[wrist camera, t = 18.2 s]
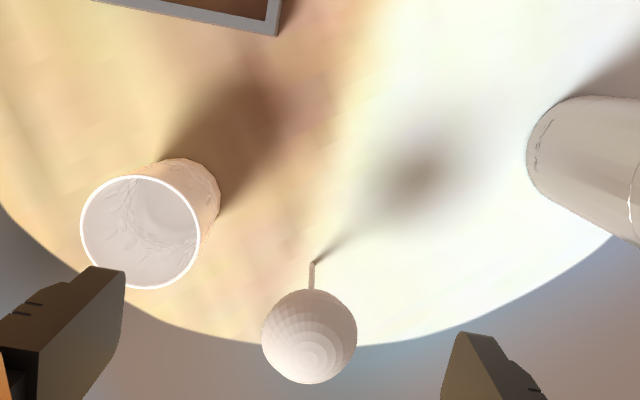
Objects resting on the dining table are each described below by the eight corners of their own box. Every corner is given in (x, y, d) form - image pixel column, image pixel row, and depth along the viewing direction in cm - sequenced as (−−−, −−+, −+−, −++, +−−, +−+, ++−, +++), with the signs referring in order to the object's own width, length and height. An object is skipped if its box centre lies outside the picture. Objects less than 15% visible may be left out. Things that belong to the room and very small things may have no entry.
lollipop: (335, 224, 43) (344, 301, 28) (355, 284, 44) (373, 388, 29) (267, 245, 43) (241, 332, 29) (289, 304, 44) (274, 416, 30)
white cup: (120, 167, 41) (59, 195, 32) (208, 138, 41) (173, 158, 31) (156, 251, 43) (109, 303, 34) (241, 225, 43) (218, 270, 33)
